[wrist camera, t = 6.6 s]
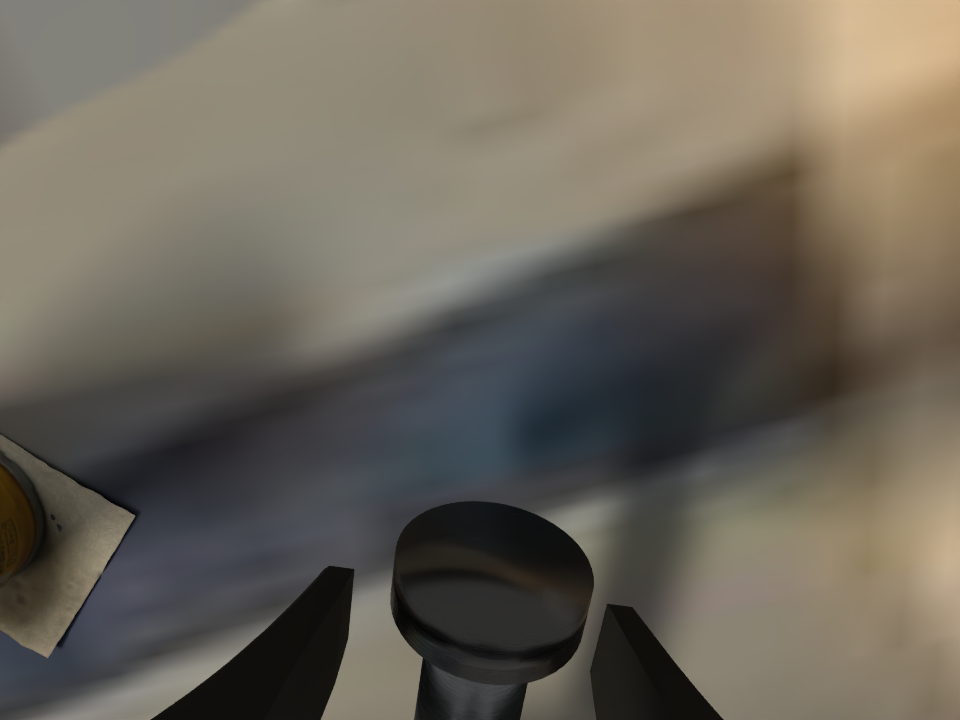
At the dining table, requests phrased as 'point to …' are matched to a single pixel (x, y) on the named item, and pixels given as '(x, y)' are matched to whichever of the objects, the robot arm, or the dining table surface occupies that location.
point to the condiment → (49, 547)
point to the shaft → (487, 606)
